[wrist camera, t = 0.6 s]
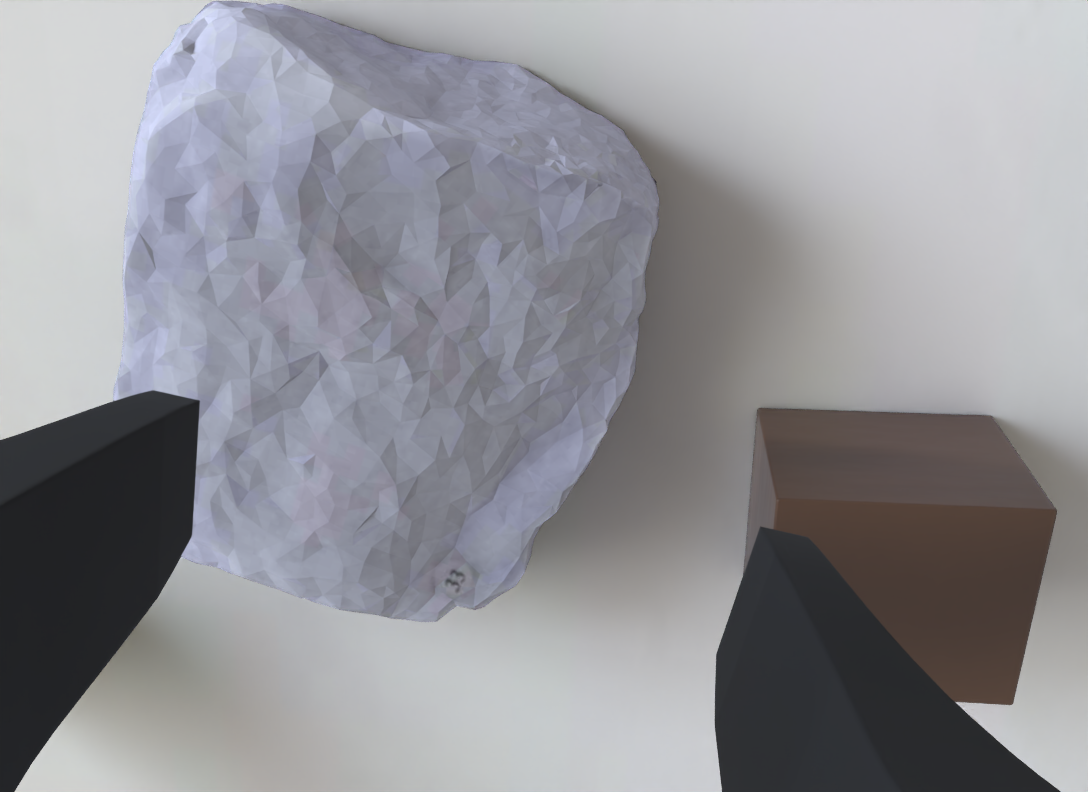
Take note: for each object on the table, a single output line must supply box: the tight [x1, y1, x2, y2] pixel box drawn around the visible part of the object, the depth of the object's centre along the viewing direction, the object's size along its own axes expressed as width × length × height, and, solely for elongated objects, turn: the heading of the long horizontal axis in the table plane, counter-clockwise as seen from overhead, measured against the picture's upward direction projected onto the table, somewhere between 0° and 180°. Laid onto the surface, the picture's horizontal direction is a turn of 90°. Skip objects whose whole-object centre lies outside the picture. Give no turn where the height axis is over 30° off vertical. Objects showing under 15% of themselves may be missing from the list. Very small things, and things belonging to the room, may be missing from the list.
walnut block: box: [743, 408, 1057, 705], centre depth 21 cm, size 4×5×4 cm
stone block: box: [113, 1, 659, 622], centre depth 21 cm, size 12×5×10 cm
